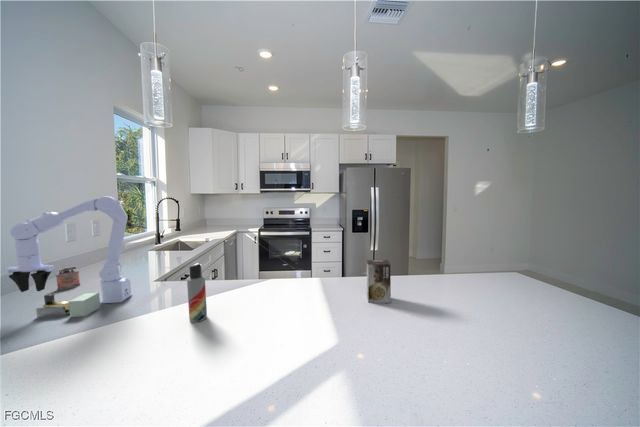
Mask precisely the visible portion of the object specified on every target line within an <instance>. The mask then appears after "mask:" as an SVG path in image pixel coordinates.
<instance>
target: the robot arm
mask: <svg viewBox="0 0 640 427" xmlns="http://www.w3.org/2000/svg"><path fill="white" fill-rule="evenodd" d="M88 211H89V212H91V211H92V212H96V211H100V212H102V213H103V214H105V215H107V217H108V216H109V217H110V219H111V220H112V226H111V231H110V237H109V240H108V241H109V242H108V247H107V253H106V257H105V261H104V264H103V267H102V269H101V270H100V271H99V278H100V280H99V281H100V282H99V283H100V290H101V292H100V293H101V299H100V304H113V303H115V304H116V303H122V302H123V301H125V300H127V299H129V297H132V296H133V293H132V288H131V287H132V286H131V281H130V279H129V278H125V277H123V275H122V274H121V273H120V272H121V269H122V265H121V264H120V261H121V254H122V249H123V245H124V244H123V243H124V238H125V234H126V233H125V232H126V229H127V228H126V227H127V224H128V219H129V218H128V214H127V213H126V210H125V209H124V208H123V206H122V204H121V202H120V201H119V200H118V199H116V198H115V197H113V196H110V195H109V196H107V195H106V196H100V197H99V198H95V199H90V200H87V201H84V202H81V203H78V204H76V205H74V206H72V207H70V208H68V209H64V210H62V211H60V212H55V211H50V212H48V211H45V212H42V214H41V215H39V216H37V217H34V218H33V219H32V218H29V219H26V222H21V223H17V224H16V225H14V226H12V228H11V230H10V234H11V237H13V238H14V241H15V242H14V243H15V244H14V247H15V254H16V262H17V266H8V267H5V269H4V270H5V274H9V275H8V278H9V279H11V280H12V281H13V282H14V283H15V284H16V286H17V288H18V289H19V291H20V292H21V293H25V292H26V291H29V289H30V284H29V283H30V276H31V278H32V279H33V281H34V283H35V285H34V286H35V289H36V291H37V292H42V291H43V290H45V287H46V284H47V281H48V278H49V277H50V275H51V273H52V272H53V271H55V265H54V264H51V265H50V264H43V263H42V258H41V257H42V256H41V250H40V242H39V236H38V235H39V234H43V233H45V232H47V231H48V232H49V231H50V230H53V229H54V228H57V227H60V226H62V225H63V223H64V222H65V220H68V219H69V218H73V217H75V216H77V215H81V214H83V213H85V212H88ZM32 272H33V273H32Z"/></svg>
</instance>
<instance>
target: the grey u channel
mask: <svg viewBox="0 0 640 427" xmlns="http://www.w3.org/2000/svg"><path fill="white" fill-rule="evenodd" d="M69 301H70V300H68V301H67V300H65V301H64V302H69ZM35 310H36V319H37V318H41V319H42V318H58V317H65V316H67V315H70V310H68V311H65V306H64V307H46V308H43V307H37V308H35Z"/></svg>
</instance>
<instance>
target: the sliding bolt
mask: <svg viewBox="0 0 640 427" xmlns="http://www.w3.org/2000/svg"><path fill="white" fill-rule="evenodd" d="M43 300H44V304H43V306H42V308H46V307H64V306H65V311H68V310H70V308H69V302H65V301H56V300H55V293H49V294H48V293H47V294H45V295H43Z"/></svg>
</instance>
